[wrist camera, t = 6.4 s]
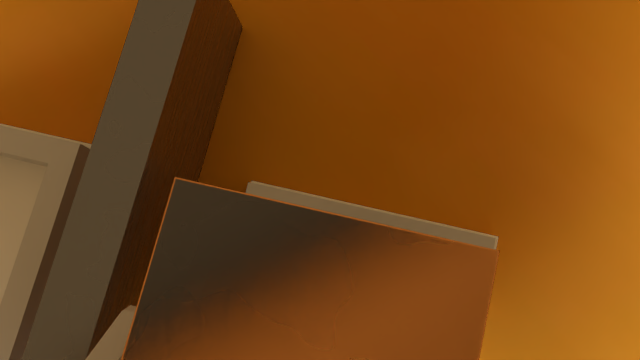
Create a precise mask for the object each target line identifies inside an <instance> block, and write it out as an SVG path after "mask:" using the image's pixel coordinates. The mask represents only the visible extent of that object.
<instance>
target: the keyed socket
mask: <svg viewBox="0 0 640 360" xmlns="http://www.w3.org/2000/svg"><path fill="white" fill-rule="evenodd" d="M91 145H92V144H89V143H84V142H80V141H76V140H71V139H67V138H62V137H58V136H54V135H49V134H45V133H40V132H36V131H32V130H27V129H23V128H18V127H14V126H9V125H5V124H1V123H0V360H21V359H22V356H23V353H24V350H25V347H26V344H27V341H28V338H29V335H30V332H31V329H32V326H33V323H34V320H35V316H36V313H37V310H38V307H39V304H40V301H41V298H42V295H43V292H44V289H45V286H46V283H47V280H48V277H49V274H50V271H51V268H52V264H53V261H54V258H55V255H56V252H57V249H58V246H59V243H60V240H61V237H62V234H63V231H64V228H65V225H66V222H67V219H68V216H69V212H70V209H71V206H72V203H73V200H74V197H75V194H76V191H77V188H78V185H79V182H80V179H81V176H82V173H83V170H84V167H85V163H86V160H87V157H88V154H89V151H90V148H91Z"/></svg>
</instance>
